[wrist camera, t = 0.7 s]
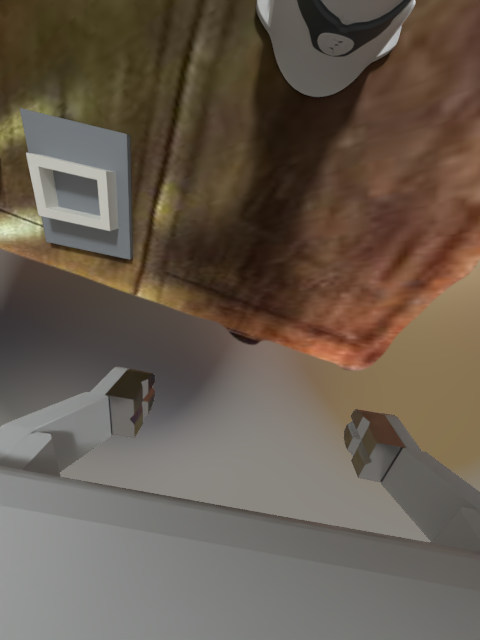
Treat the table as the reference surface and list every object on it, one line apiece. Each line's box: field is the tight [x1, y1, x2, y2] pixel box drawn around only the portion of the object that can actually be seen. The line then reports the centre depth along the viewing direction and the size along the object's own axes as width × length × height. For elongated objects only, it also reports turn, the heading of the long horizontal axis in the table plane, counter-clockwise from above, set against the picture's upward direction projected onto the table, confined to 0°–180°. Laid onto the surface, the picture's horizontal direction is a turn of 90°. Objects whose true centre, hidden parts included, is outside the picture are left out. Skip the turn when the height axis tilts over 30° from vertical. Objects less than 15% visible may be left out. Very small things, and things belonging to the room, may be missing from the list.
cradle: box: [20, 108, 133, 259], centre depth 40 cm, size 20×16×4 cm
